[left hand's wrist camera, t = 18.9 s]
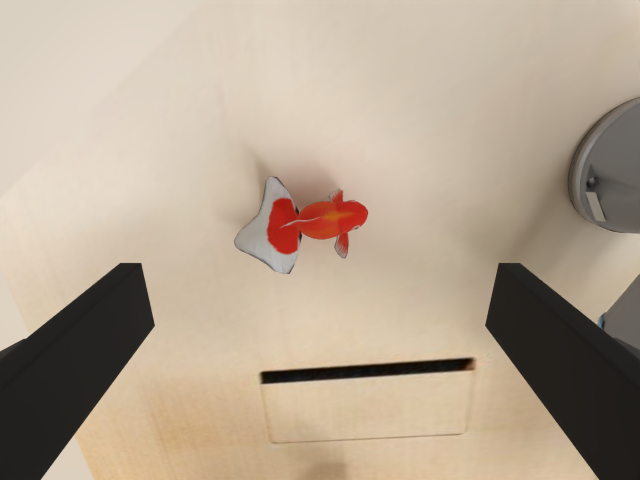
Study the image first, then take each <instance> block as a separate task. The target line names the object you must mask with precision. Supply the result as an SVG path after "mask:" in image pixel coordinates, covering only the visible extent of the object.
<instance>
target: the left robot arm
mask: <svg viewBox="0 0 640 480" xmlns="http://www.w3.org/2000/svg"><path fill="white" fill-rule="evenodd" d="M568 187H569V194H570V198H571V200H572V203H573V205H574V207H575V208H576V210H577V211H578V212H579V213H580V215H581V216H583V217H584V218H585V219H586V220H588V221H590V222H592V223H594V224H596V225H598V226H600V227H603V228H605V229H607V230H610V231H614V232H621V233H638V234H640V97H639V98H636V99H634V100H631V101H629V102H627V103H624V104H622V105H621V106H619V107H617V108H615V109H614V110H612V111H611V112H610V113H608V114H607V115H606V116H604V117H603V118H602V119H601V120H600V121H599V122H598V123H597V124H596V125H595V126H594V127H593V128H592V129H591V130H590V131H589V132H588V134H587V135H586V136H585V138H584V139H583V141H582V142H581V144H580V145H579V147H578V149H577V151H576V153H575V155H574V158H573V160H572V164H571V167H570V172H569V180H568ZM154 326H155V324H154V320H153V315H152V311H151V306H150V301H149V297H148V292H147V288H146V283H145V279H144V274H143V269H142V265H141V263H120V264H119V265H117V266H116V267H115V268H114V269H112V270H111V271H110V272H109V273H107V274H106V275H105V276H104V277H102V278H101V279H100V280H99V281H97V282H96V283H95V284H94V285H92V286H91V287H90V288H89V289H87V290H86V291H85V292H84V293H82V294H81V295H80V296H79V297H77V298H76V299H75V300H74V301H72V302H71V303H70V304H69V305H67V306H66V307H65V308H64V309H62V310H61V311H60V312H59V313H57V314H56V315H55V316H54V317H53V318H51V319H50V320H49V321H48V322H46V323H45V324H44V325H43V326H41V327H40V328H39V329H38V330H36V331H35V332H34V333H33V334H31V335H30V336H29V337H28V338H26V339H23V340H21V341H19V342H17V343H15V344H13V345H11V346H10V347H8V348H6V349H4V350H2V351H0V480H41V478H42V477H43V476H44V475H45V473H46V472H47V470H48V469H49V468H50V466H51V465H52V464H53V462H54V461H55V460H56V458H57V457H58V456H59V454H60V453H61V452H62V450H63V449H64V448H65V446H66V445H67V444H68V442H69V441H70V439H71V438H72V437H73V435H74V434H75V433H76V431H77V430H78V429H79V427H80V426H81V425H82V423H83V422H84V421H85V419H86V418H87V417H88V415H89V414H90V412H91V411H92V410H93V408H94V407H95V406H96V404H97V403H98V402H99V400H100V399H101V398H102V396H103V395H104V394H105V392H106V391H107V390H108V388H109V387H110V385H111V384H112V383H113V381H114V380H115V379H116V377H117V376H118V375H119V373H120V372H121V371H122V369H123V368H124V367H125V365H126V364H127V363H128V361H129V360H130V359H131V357H132V356H133V354H134V353H135V352H136V350H137V349H138V348H139V346H140V345H141V344H142V342H143V341H144V340H145V338H146V337H147V336H148V334H149V333H150V332H151V330H152V329H153V327H154ZM485 326H486V327H487V329H488V330H489V332H490V333H491V334H492V336H493V337H494V338H495V340H496V341H497V342H498V344H499V345H500V346H501V348H502V349H503V350H504V352H505V353H506V354H507V356H508V357H509V359H510V360H511V361H512V363H513V364H514V365H515V367H516V368H517V369H518V371H519V372H520V373H521V375H522V376H523V377H524V379H525V380H526V381H527V383H528V384H529V385H530V387H531V388H532V390H533V391H534V392H535V394H536V395H537V396H538V398H539V399H540V400H541V402H542V403H543V404H544V406H545V407H546V408H547V410H548V411H549V412H550V414H551V415H552V417H553V418H554V419H555V421H556V422H557V423H558V425H559V426H560V427H561V429H562V430H563V431H564V433H565V434H566V435H567V437H568V438H569V439H570V441H571V442H572V444H573V445H574V446H575V448H576V449H577V450H578V452H579V453H580V454H581V456H582V457H583V458H584V460H585V461H586V462H587V464H588V465H589V466H590V468H591V469H592V470H593V472H594V473H595V475H596V476H597V477H598V479H599V480H640V274H639V275H638V276H637V278H636V279H635V280H634V281H633V282H632V284H631V285H630V286H629V287H628V288H627V290H626V291H625V292H624V293H623V294H622V295H621V297H620V298H619V299H618V300H617V301H616V302H615V303H614V305H613V306H612V307H611V308H610V309H609V310H608V311H607V313H604V314H603V315H601V317H600V318H599V320H598V324H597V325H596V324H595V323H594V322H592V321H591V320H590V319H589V318H587V317H586V316H585V315H584V314H583V313H581V312H580V311H579V310H578V309H576V308H575V307H574V306H573V305H571V304H570V303H569V302H568V301H566V300H565V299H564V298H563V297H561V296H560V295H559V294H558V293H556V292H555V291H554V290H553V289H551V288H550V287H549V286H548V285H546V284H545V283H544V282H543V281H541V280H540V279H539V278H538V277H536V276H535V275H534V274H533V273H531V272H530V271H529V270H528V269H526V268H525V267H524V266H523V265H521V264H520V263H499V265H498V269H497V274H496V279H495V283H494V288H493V292H492V297H491V301H490V306H489V311H488V315H487V320H486V324H485Z"/></svg>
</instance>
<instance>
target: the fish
mask: <svg viewBox="0 0 640 480" xmlns="http://www.w3.org/2000/svg"><path fill="white" fill-rule="evenodd" d="M329 198H330V201H331V202H318V203H314V204H311V205H309V206H307V207H306V208H304V209H303V210H302V211H301V212H300V214H299V211H298V209H297V207H296V205H295V203H294V201H293V199H292V198H291V196H290V194H289V192H288V191H287V189H286V188H285V187H284V185H283V184H282V183H281V182H280V180H279V179H278V178H277V177H269V178H268V179H267V181H266V184H265V190H264V195H263V201H262V205H261V208H260V211H259V214H258V215H257V216H256V217H255V218H254V219H253V220H252V221H251V222H250V223H249V224H248V225H247V226H245V227H244V228H243V229H242V230H241V231H240V232H239V233H238V234H237V236H236V238H235V240H234V244H235V246H236V248H238V249H239V250H241V251H243V252H245V253H247V254H249V255H251V256H253V257H255V258H257V259H259V260H260V261H262V262H264V263H265V264H267V265H268V266H269V267H270V268H271V269H273V270H274V271H275V272H279V273H282V274H290V272H291V270H292V268H293V266H294V264H295V261H296V258H297V255H298V251H299V247H300V242H301V237H302V234H301V232H302V233H303V234H305V235H307V236H309V237H311V238H314V239H328V238H332V237H335V236H337V240H336V243H335V250H336V251H337V253H338V254H339V255H340V256H341V257H342V258H346V256H347V253H348V245H349V241H348V233H347V232H349V231H351V230H353V229H357V228H359V227H360V226H362V225H363V224H364V222H365V221H366V219H367V216H368V210H367V209H366V207H365V206H363V205H362V204H360V203H359V202H357V201H355V200H349V201H347V202H343V191H342V190H340V189H338V190H336V191H334V192H333V193H332V194H331V195H330V196H329Z"/></svg>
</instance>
